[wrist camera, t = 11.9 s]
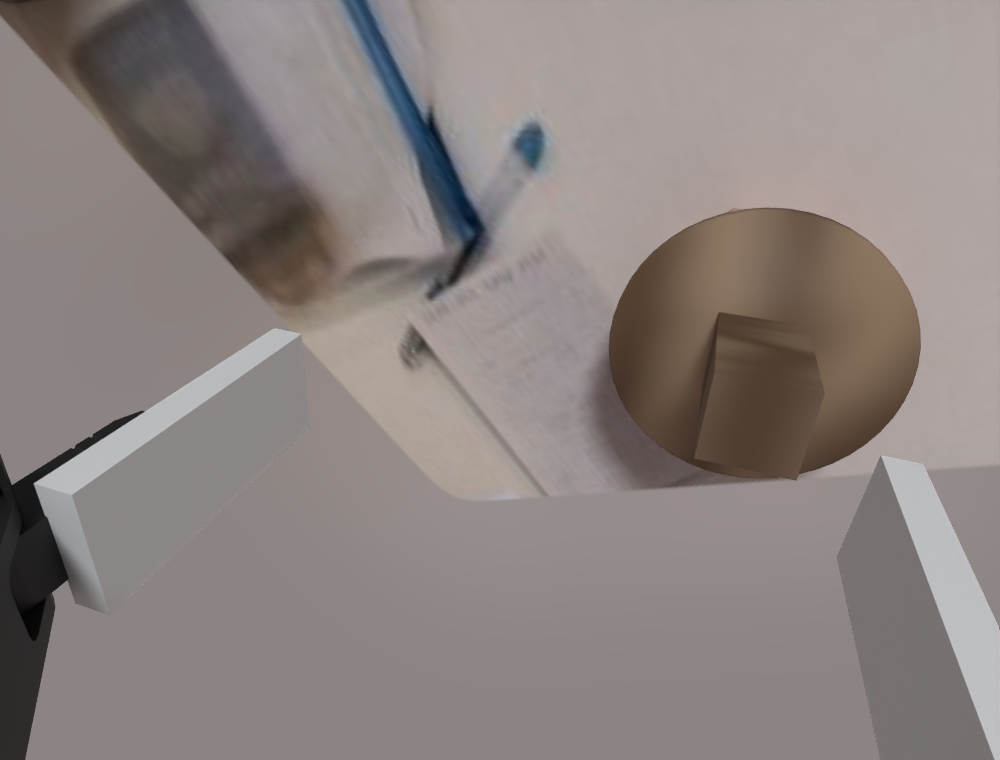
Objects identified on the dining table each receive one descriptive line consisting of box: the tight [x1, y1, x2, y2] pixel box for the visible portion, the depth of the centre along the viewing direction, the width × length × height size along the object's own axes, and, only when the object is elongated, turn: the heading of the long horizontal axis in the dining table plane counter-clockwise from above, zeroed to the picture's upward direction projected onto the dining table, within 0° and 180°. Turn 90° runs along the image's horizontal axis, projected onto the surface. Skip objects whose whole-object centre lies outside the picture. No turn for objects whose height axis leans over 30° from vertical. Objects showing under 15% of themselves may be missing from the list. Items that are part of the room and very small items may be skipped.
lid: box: [609, 208, 921, 480], centre depth 29 cm, size 14×14×8 cm
